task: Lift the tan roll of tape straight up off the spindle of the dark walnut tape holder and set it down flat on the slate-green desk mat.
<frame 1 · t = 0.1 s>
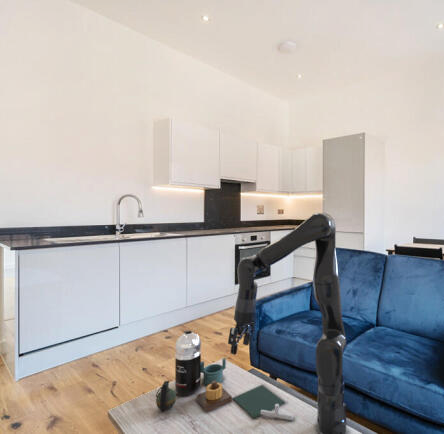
hand: (239, 349, 117), 22 cm above the table, tool pointing down, fingers open, 8 cm apart
tape roll: (214, 395, 121), point 2 cm above the table, touching tape holder
hand grenade: (165, 409, 116), on the table
tape holder: (214, 400, 121), on the table
pipe joint: (276, 417, 112), on the table, touching desk mat
desk mat: (258, 401, 121), on the table
black ribbed cylinder: (188, 390, 128), on the table
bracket: (213, 380, 136), on the table
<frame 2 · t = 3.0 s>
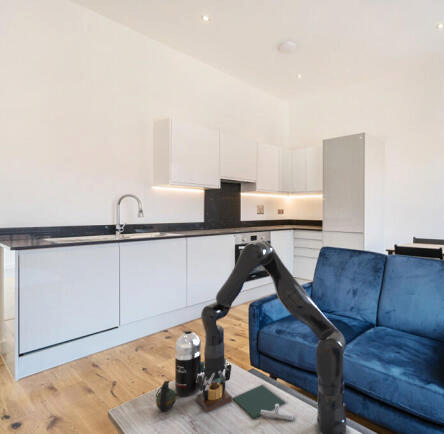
hand: (214, 394, 121), 2 cm above the table, tool pointing down, fingers closed on tape roll, 6 cm apart
tape roll: (214, 395, 121), point 2 cm above the table, touching gripper, tape holder
everything else where it was.
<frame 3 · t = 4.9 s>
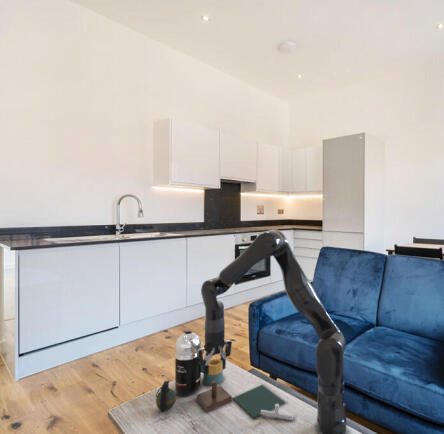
hand: (214, 370, 121), 12 cm above the table, tool pointing down, fingers closed on tape roll, 6 cm apart
tape roll: (214, 371, 121), point 12 cm above the table, touching gripper
everything else where it was.
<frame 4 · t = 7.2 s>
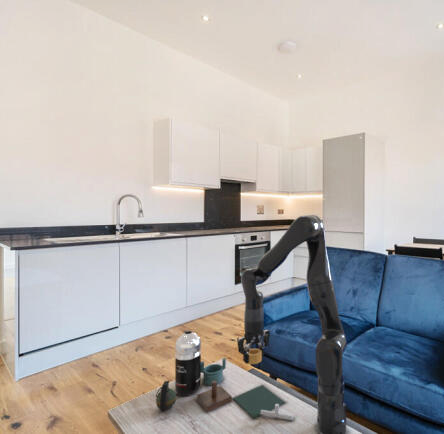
hand: (253, 360, 121), 16 cm above the table, tool pointing down, fingers closed on tape roll, 6 cm apart
tape roll: (253, 360, 121), point 16 cm above the table, touching gripper
everything else where it was.
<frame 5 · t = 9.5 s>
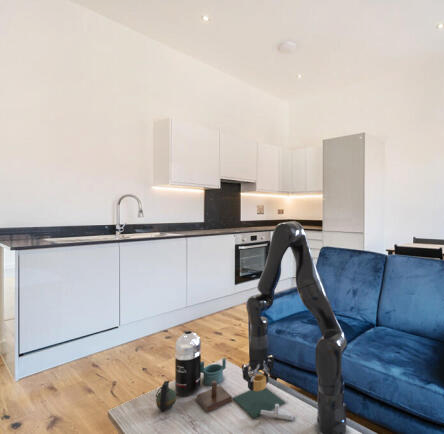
hand: (258, 386, 121), 6 cm above the table, tool pointing down, fingers closed on tape roll, 6 cm apart
tape roll: (258, 386, 121), point 6 cm above the table, touching gripper
everything else where it was.
when the fingers open (1 cm above the table, at t = 11.4 s): tape roll stays where it is, resting on desk mat.
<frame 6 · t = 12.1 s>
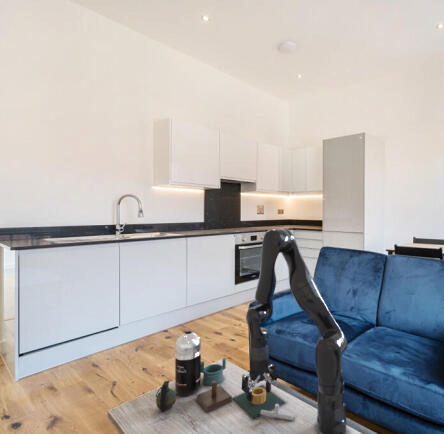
hand: (259, 396, 121), 2 cm above the table, tool pointing down, fingers open, 8 cm apart
tape roll: (258, 400, 121), resting on desk mat
everything else where it was.
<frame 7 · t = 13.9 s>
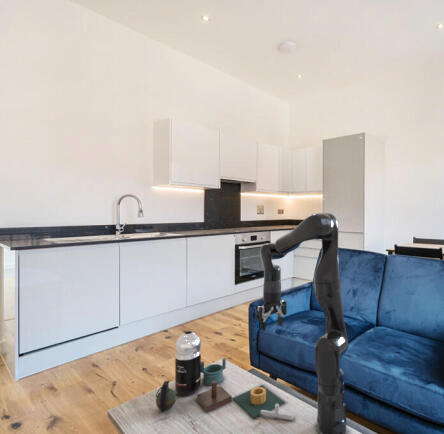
hand: (271, 327, 130), 26 cm above the table, tool pointing down, fingers open, 8 cm apart
nothing on the table moved.
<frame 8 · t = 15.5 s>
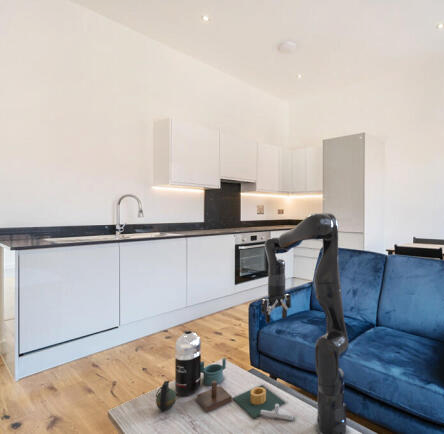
hand: (276, 320, 133), 28 cm above the table, tool pointing down, fingers open, 8 cm apart
nothing on the table moved.
at the end: tape roll inside the target area on the desk mat (0.1 cm from its centre), point 0.4 cm above the desk mat's base; tape roll touching desk mat; tape roll tilted 0° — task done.
